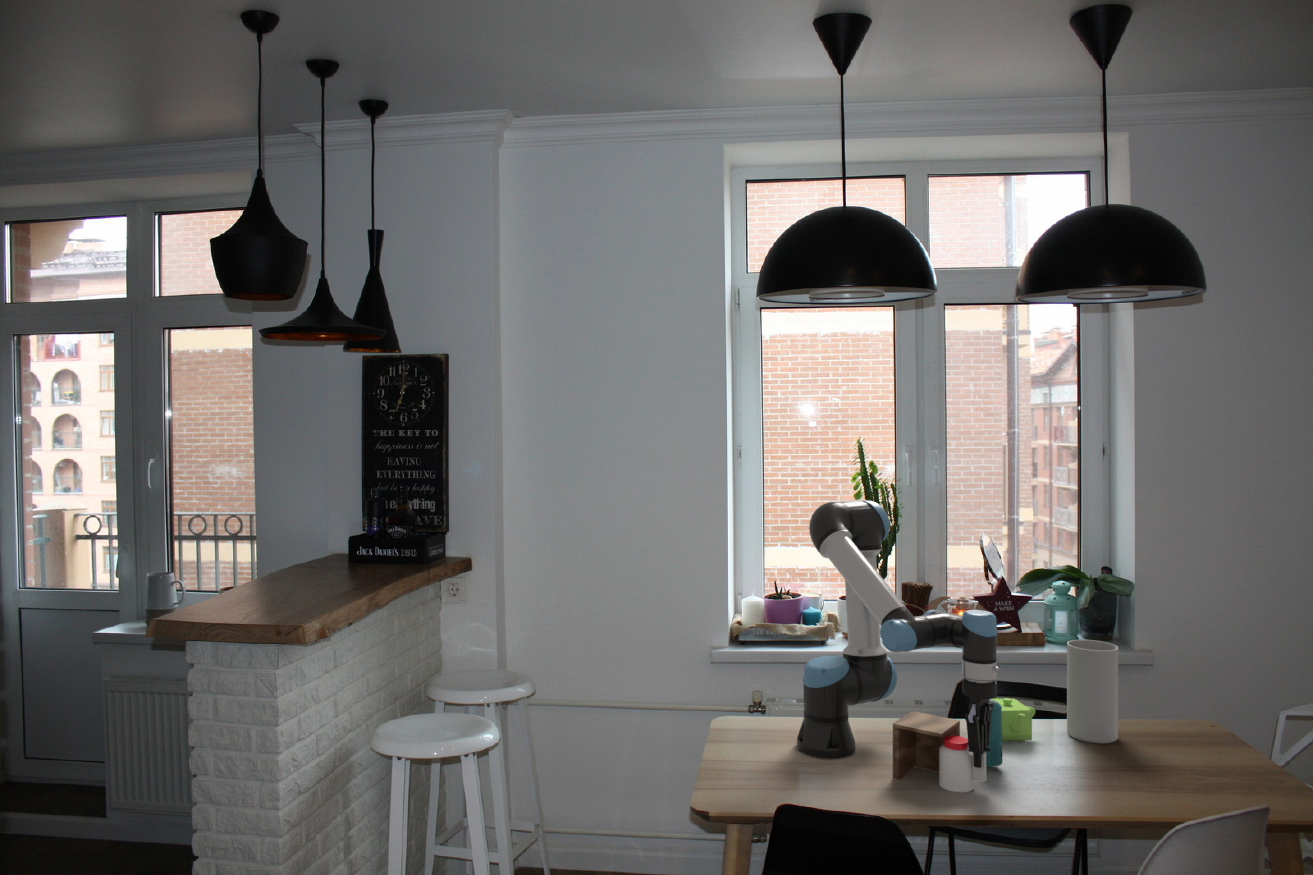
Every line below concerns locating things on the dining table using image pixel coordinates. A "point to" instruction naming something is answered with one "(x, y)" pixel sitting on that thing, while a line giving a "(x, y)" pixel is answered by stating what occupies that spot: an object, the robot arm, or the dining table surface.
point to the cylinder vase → (1092, 691)
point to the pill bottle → (955, 765)
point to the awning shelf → (920, 741)
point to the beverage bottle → (995, 736)
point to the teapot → (1016, 720)
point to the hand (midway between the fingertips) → (979, 779)
